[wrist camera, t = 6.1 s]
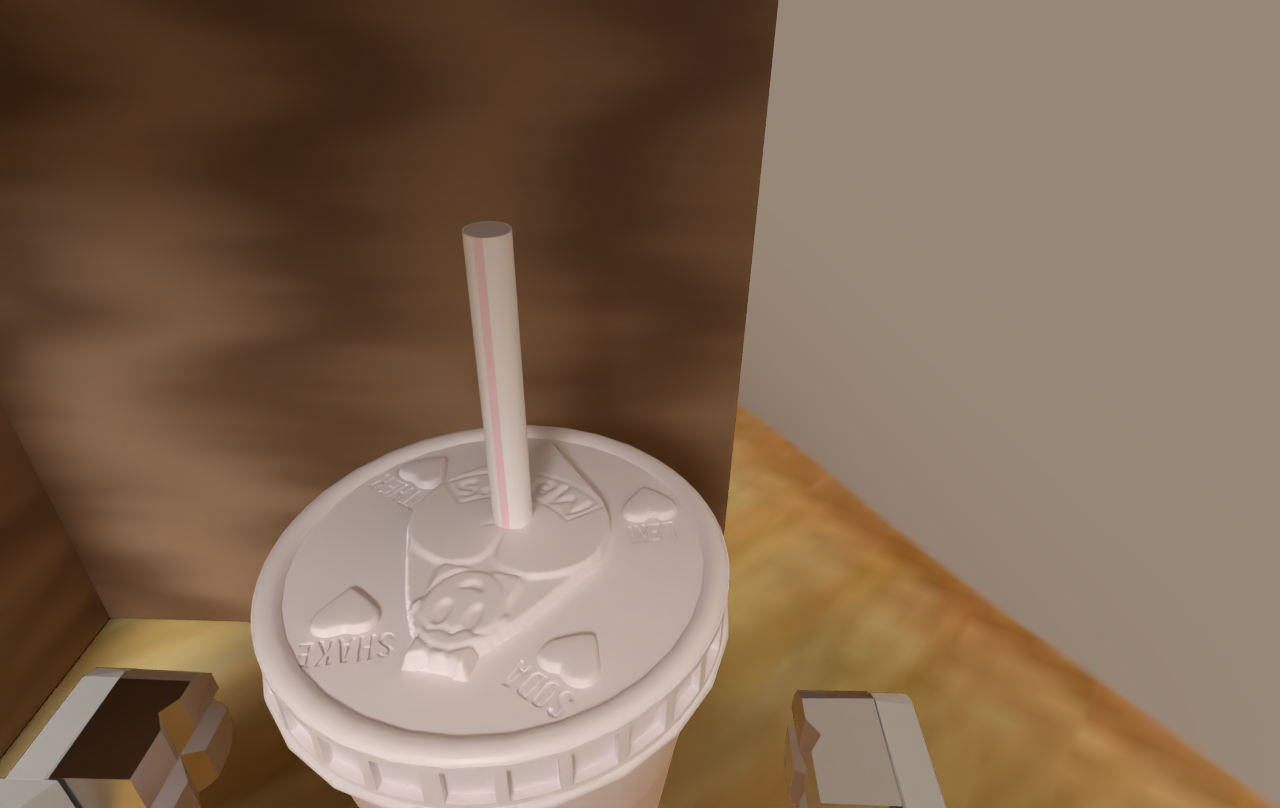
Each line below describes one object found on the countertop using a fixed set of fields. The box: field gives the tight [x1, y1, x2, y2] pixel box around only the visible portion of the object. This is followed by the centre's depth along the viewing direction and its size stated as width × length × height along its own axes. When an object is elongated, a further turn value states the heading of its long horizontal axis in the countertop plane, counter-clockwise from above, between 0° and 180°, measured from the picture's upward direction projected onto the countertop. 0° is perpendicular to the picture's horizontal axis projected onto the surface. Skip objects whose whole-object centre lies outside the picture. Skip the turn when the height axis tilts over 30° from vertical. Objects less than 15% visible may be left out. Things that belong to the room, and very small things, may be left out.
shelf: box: [0, 0, 778, 757], centre depth 13 cm, size 18×11×19 cm, turn 89°
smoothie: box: [251, 221, 730, 808], centre depth 12 cm, size 6×6×14 cm
